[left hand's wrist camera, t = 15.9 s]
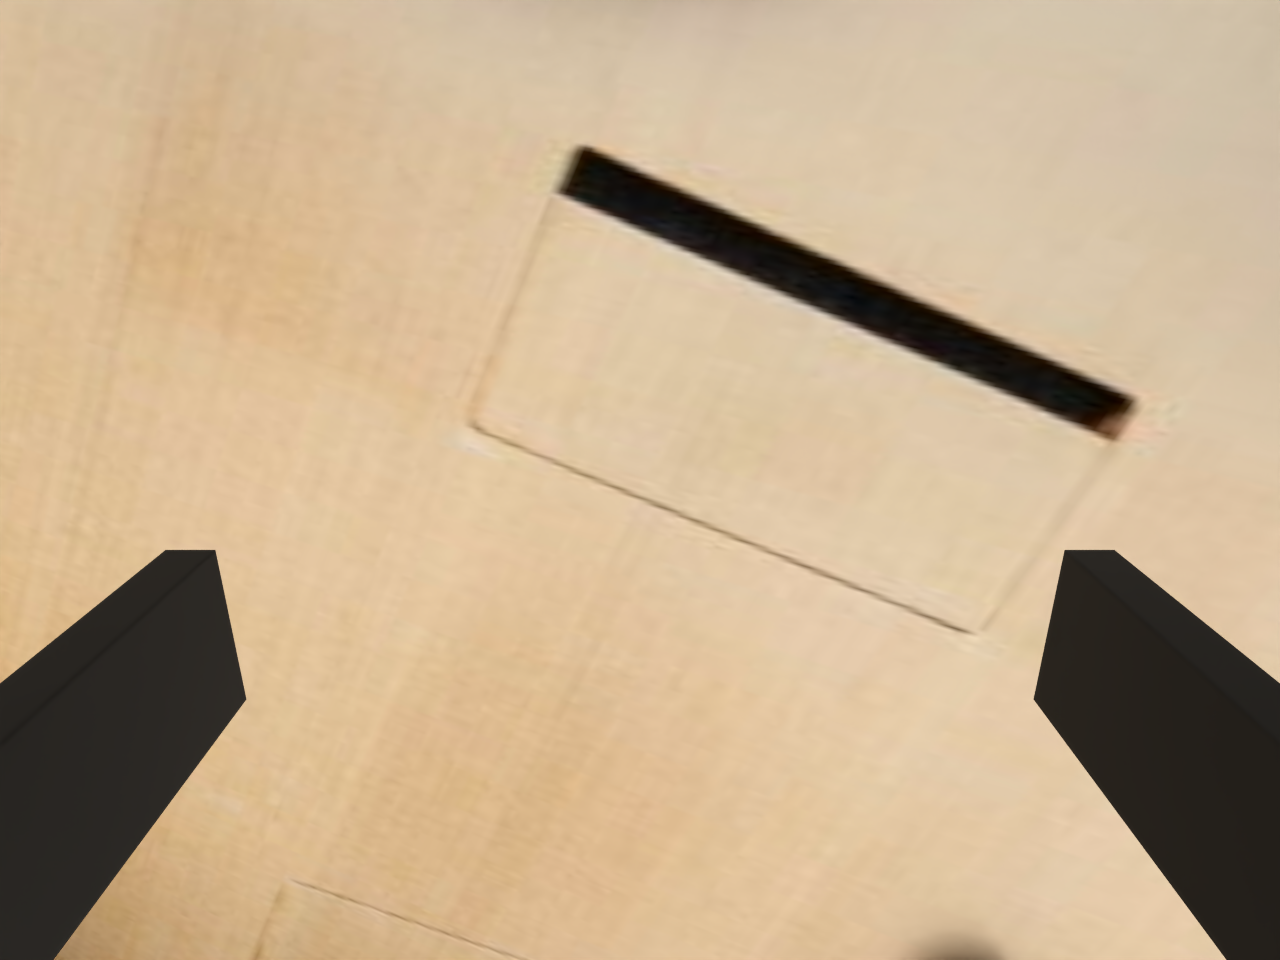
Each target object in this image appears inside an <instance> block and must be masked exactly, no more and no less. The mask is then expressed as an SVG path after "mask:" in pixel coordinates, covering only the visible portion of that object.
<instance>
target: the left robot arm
mask: <svg viewBox="0 0 1280 960" xmlns="http://www.w3.org/2000/svg"><path fill="white" fill-rule="evenodd" d="M245 700H246V695H245V691H244V686H243V681H242V676H241V671H240V667H239V662H238V657H237V652H236V647H235V643H234V638H233V633H232V628H231V623H230V619H229V614H228V609H227V604H226V599H225V595H224V590H223V585H222V580H221V575H220V570H219V566H218V561H217V556H216V551H215V550H165V551H164V552H163V553H161V554H160V555H159V556H158V557H156V558H155V559H154V560H153V561H152V562H150V563H149V564H148V565H147V566H145V567H144V568H143V569H142V570H140V571H139V572H138V573H137V574H135V575H134V576H133V577H132V578H130V579H129V580H128V581H127V582H125V583H124V584H123V585H122V586H121V587H119V588H118V589H117V590H116V591H114V592H113V593H112V594H111V595H109V596H108V597H107V598H106V599H104V600H103V601H102V602H101V603H99V604H98V605H97V606H96V607H94V608H93V609H92V610H91V611H89V612H88V613H87V614H86V615H85V616H83V617H82V618H81V619H80V620H78V621H77V622H76V623H75V624H73V625H72V626H71V627H70V628H68V629H67V630H66V631H65V632H63V633H62V634H61V635H60V636H58V637H57V638H56V639H55V640H54V641H52V642H51V643H50V644H49V645H47V646H46V647H45V648H44V649H42V650H41V651H40V652H39V653H37V654H36V655H35V656H34V657H32V658H31V659H30V660H29V661H27V662H26V663H25V664H24V665H23V666H21V667H20V668H19V669H18V670H16V671H15V672H14V673H13V674H11V675H10V676H9V677H8V678H6V679H5V680H4V681H3V682H1V683H0V960H54V958H55V957H56V956H57V954H58V953H59V952H60V950H61V949H62V948H63V946H64V945H65V943H66V942H67V941H68V939H69V938H70V937H71V935H72V934H73V933H74V931H75V930H76V929H77V927H78V926H79V925H80V923H81V922H82V921H83V919H84V918H85V916H86V915H87V914H88V912H89V911H90V910H91V908H92V907H93V906H94V904H95V903H96V902H97V900H98V899H99V898H100V896H101V895H102V894H103V892H104V891H105V889H106V888H107V887H108V885H109V884H110V883H111V881H112V880H113V879H114V877H115V876H116V875H117V873H118V872H119V871H120V869H121V868H122V867H123V865H124V864H125V862H126V861H127V860H128V858H129V857H130V856H131V854H132V853H133V852H134V850H135V849H136V848H137V846H138V845H139V844H140V842H141V841H142V840H143V838H144V837H145V835H146V834H147V833H148V831H149V830H150V829H151V827H152V826H153V825H154V823H155V822H156V821H157V819H158V818H159V817H160V815H161V814H162V813H163V811H164V810H165V808H166V807H167V806H168V804H169V803H170V802H171V800H172V799H173V798H174V796H175V795H176V794H177V792H178V791H179V790H180V788H181V787H182V785H183V784H184V783H185V781H186V780H187V779H188V777H189V776H190V775H191V773H192V772H193V771H194V769H195V768H196V767H197V765H198V764H199V763H200V761H201V760H202V758H203V757H204V756H205V754H206V753H207V752H208V750H209V749H210V748H211V746H212V745H213V744H214V742H215V741H216V740H217V738H218V737H219V736H220V734H221V733H222V731H223V730H224V729H225V727H226V726H227V725H228V723H229V722H230V721H231V719H232V718H233V717H234V715H235V714H236V713H237V711H238V710H239V709H240V707H241V706H242V704H243V703H244V702H245ZM1034 700H1035V702H1036V703H1037V704H1038V706H1039V707H1040V709H1041V710H1042V711H1043V713H1044V714H1045V715H1046V717H1047V718H1048V719H1049V721H1050V722H1051V723H1052V725H1053V726H1054V727H1055V729H1056V730H1057V731H1058V733H1059V734H1060V736H1061V737H1062V738H1063V740H1064V741H1065V742H1066V744H1067V745H1068V746H1069V748H1070V749H1071V750H1072V752H1073V753H1074V754H1075V756H1076V757H1077V758H1078V760H1079V761H1080V763H1081V764H1082V765H1083V767H1084V768H1085V769H1086V771H1087V772H1088V773H1089V775H1090V776H1091V777H1092V779H1093V780H1094V781H1095V783H1096V784H1097V785H1098V787H1099V788H1100V790H1101V791H1102V792H1103V794H1104V795H1105V796H1106V798H1107V799H1108V800H1109V802H1110V803H1111V804H1112V806H1113V807H1114V808H1115V810H1116V811H1117V813H1118V814H1119V815H1120V817H1121V818H1122V819H1123V821H1124V822H1125V823H1126V825H1127V826H1128V827H1129V829H1130V830H1131V831H1132V833H1133V834H1134V835H1135V837H1136V838H1137V840H1138V841H1139V842H1140V844H1141V845H1142V846H1143V848H1144V849H1145V850H1146V852H1147V853H1148V854H1149V856H1150V857H1151V858H1152V860H1153V861H1154V862H1155V864H1156V865H1157V867H1158V868H1159V869H1160V871H1161V872H1162V873H1163V875H1164V876H1165V877H1166V879H1167V880H1168V881H1169V883H1170V884H1171V885H1172V887H1173V888H1174V889H1175V891H1176V892H1177V894H1178V895H1179V896H1180V898H1181V899H1182V900H1183V902H1184V903H1185V904H1186V906H1187V907H1188V908H1189V910H1190V911H1191V912H1192V914H1193V915H1194V916H1195V918H1196V919H1197V921H1198V922H1199V923H1200V925H1201V926H1202V927H1203V929H1204V930H1205V931H1206V933H1207V934H1208V935H1209V937H1210V938H1211V939H1212V941H1213V942H1214V943H1215V945H1216V946H1217V948H1218V949H1219V950H1220V952H1221V953H1222V954H1223V956H1224V957H1225V958H1226V960H1280V683H1279V682H1277V681H1276V680H1275V679H1274V678H1272V677H1271V676H1270V675H1269V674H1267V673H1266V672H1265V671H1264V670H1262V669H1261V668H1260V667H1259V666H1257V665H1256V664H1255V663H1254V662H1253V661H1251V660H1250V659H1249V658H1248V657H1246V656H1245V655H1244V654H1243V653H1241V652H1240V651H1239V650H1238V649H1236V648H1235V647H1234V646H1233V645H1231V644H1230V643H1229V642H1228V641H1226V640H1225V639H1224V638H1223V637H1222V636H1220V635H1219V634H1218V633H1217V632H1215V631H1214V630H1213V629H1212V628H1210V627H1209V626H1208V625H1207V624H1205V623H1204V622H1203V621H1202V620H1200V619H1199V618H1198V617H1197V616H1195V615H1194V614H1193V613H1192V612H1191V611H1189V610H1188V609H1187V608H1186V607H1184V606H1183V605H1182V604H1181V603H1179V602H1178V601H1177V600H1176V599H1174V598H1173V597H1172V596H1171V595H1169V594H1168V593H1167V592H1166V591H1164V590H1163V589H1162V588H1161V587H1159V586H1158V585H1157V584H1156V583H1155V582H1153V581H1152V580H1151V579H1150V578H1148V577H1147V576H1146V575H1145V574H1143V573H1142V572H1141V571H1140V570H1138V569H1137V568H1136V567H1135V566H1133V565H1132V564H1131V563H1130V562H1128V561H1127V560H1126V559H1125V558H1124V557H1122V556H1121V555H1120V554H1119V553H1117V552H1116V551H1115V550H1065V551H1064V556H1063V561H1062V566H1061V570H1060V575H1059V580H1058V585H1057V590H1056V595H1055V599H1054V604H1053V609H1052V614H1051V619H1050V623H1049V628H1048V633H1047V638H1046V643H1045V647H1044V652H1043V657H1042V662H1041V667H1040V671H1039V676H1038V681H1037V686H1036V691H1035V695H1034Z"/></svg>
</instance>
